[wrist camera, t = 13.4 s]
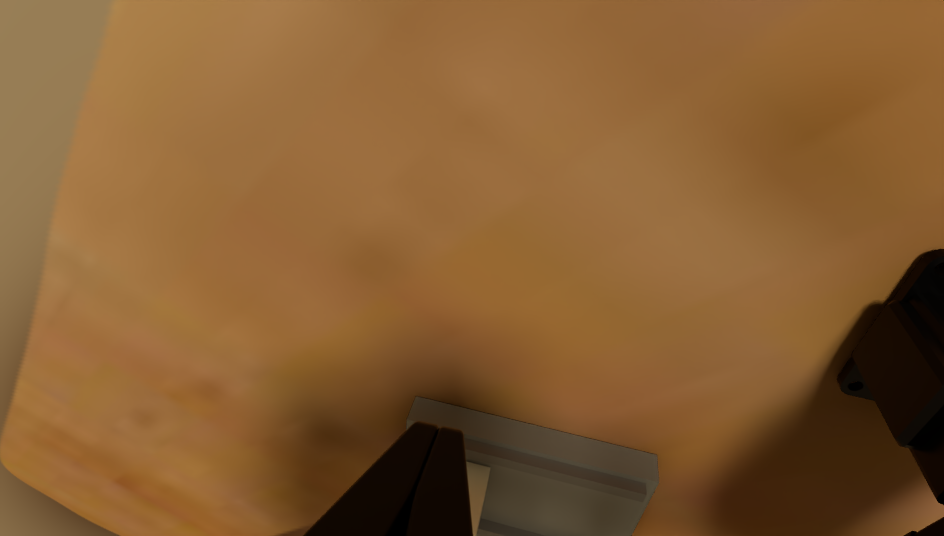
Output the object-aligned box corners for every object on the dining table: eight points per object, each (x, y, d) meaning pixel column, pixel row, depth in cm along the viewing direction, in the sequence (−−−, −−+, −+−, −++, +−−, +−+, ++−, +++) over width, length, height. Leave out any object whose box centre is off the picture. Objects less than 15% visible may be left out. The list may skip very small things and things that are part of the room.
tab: (490, 467, 27) (475, 535, 24) (481, 511, 29) (467, 578, 26) (431, 452, 27) (410, 517, 24) (427, 497, 29) (407, 561, 26)
